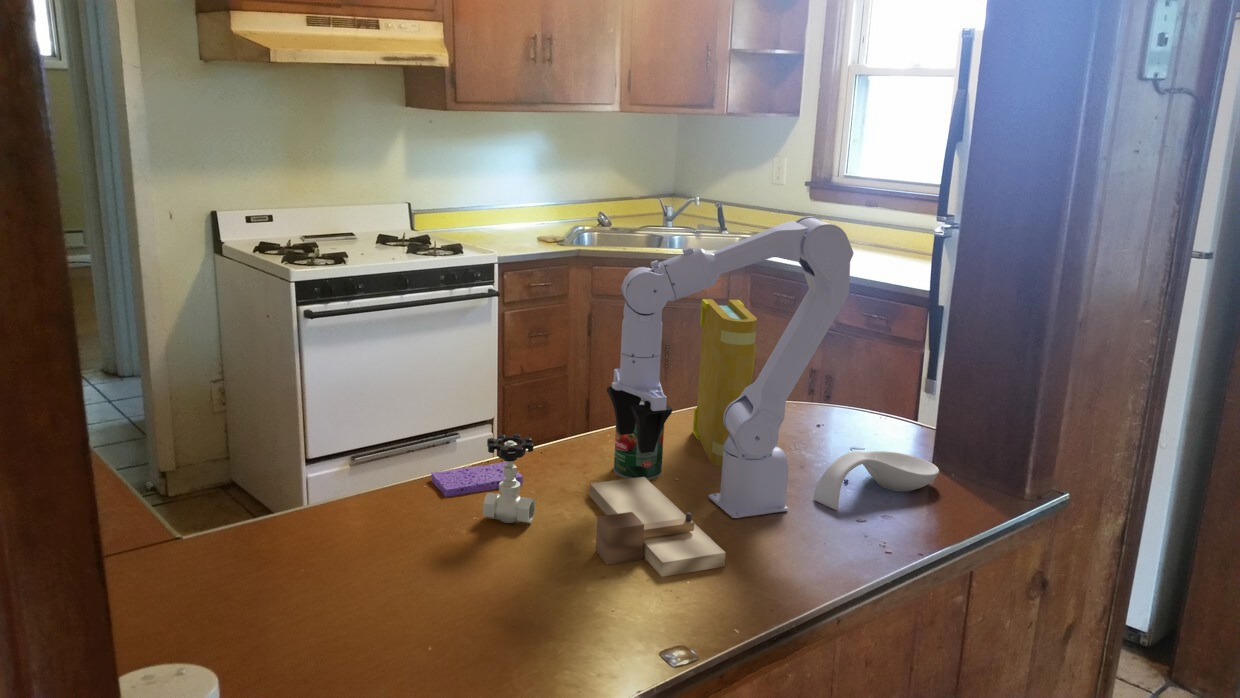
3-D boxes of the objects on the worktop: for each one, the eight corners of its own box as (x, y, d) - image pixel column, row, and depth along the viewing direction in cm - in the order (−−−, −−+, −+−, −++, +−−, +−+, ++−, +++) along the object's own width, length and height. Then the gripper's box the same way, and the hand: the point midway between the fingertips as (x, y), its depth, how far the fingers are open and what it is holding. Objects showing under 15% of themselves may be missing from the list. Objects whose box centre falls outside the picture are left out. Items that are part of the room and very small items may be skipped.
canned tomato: (671, 471, 150) (675, 407, 147) (640, 484, 144) (644, 418, 141) (634, 458, 155) (638, 396, 152) (603, 470, 149) (606, 405, 146)
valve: (524, 534, 126) (526, 452, 123) (478, 528, 127) (479, 447, 124) (538, 514, 132) (540, 436, 129) (494, 509, 133) (495, 431, 130)
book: (692, 432, 169) (701, 299, 162) (728, 432, 169) (739, 299, 163) (711, 467, 152) (722, 321, 146) (750, 467, 153) (763, 321, 147)
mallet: (683, 537, 127) (685, 504, 126) (696, 550, 123) (699, 516, 122) (595, 551, 122) (597, 516, 121) (606, 565, 118) (608, 529, 117)
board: (643, 488, 143) (644, 476, 142) (724, 566, 119) (725, 552, 119) (589, 495, 139) (590, 483, 139) (661, 576, 116) (662, 562, 116)
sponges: (523, 487, 142) (523, 476, 142) (444, 500, 136) (444, 488, 136) (506, 471, 148) (506, 460, 148) (430, 483, 142) (430, 471, 142)
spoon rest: (891, 465, 158) (896, 426, 156) (951, 489, 149) (957, 448, 147) (796, 494, 144) (800, 451, 142) (855, 522, 135) (860, 477, 133)
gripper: (596, 341, 136) (592, 428, 139) (635, 368, 123) (630, 463, 126) (640, 339, 138) (635, 424, 142) (682, 365, 125) (676, 458, 129)
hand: (636, 442), depth 134 cm, fingers open, 7 cm apart
